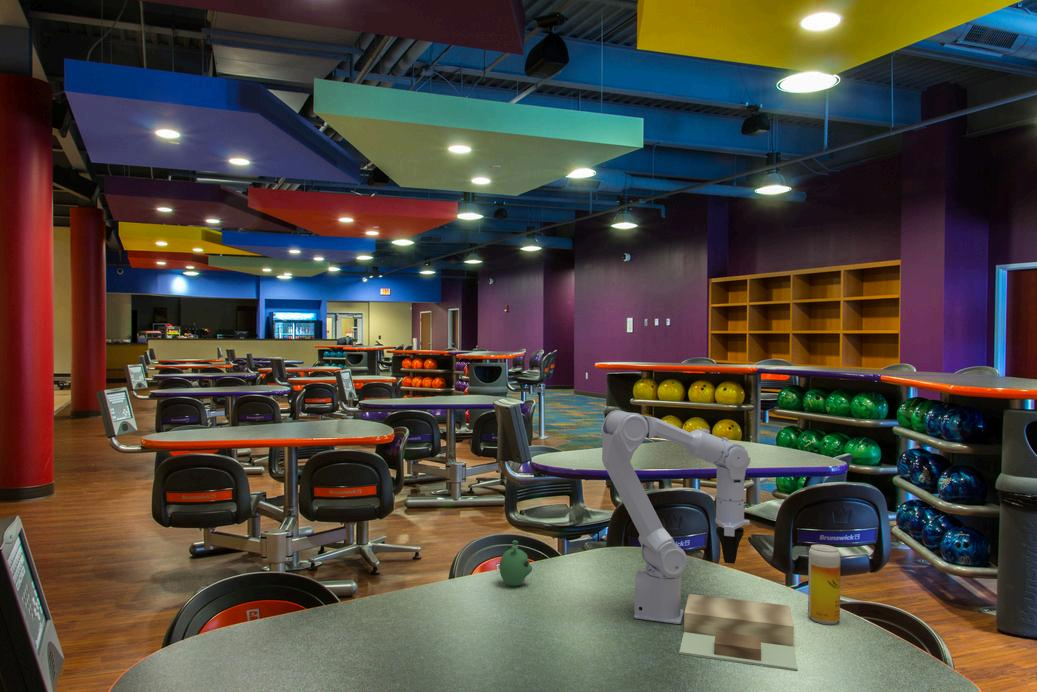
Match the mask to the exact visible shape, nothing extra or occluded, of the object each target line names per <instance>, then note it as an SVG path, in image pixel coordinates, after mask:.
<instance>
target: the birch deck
mask: <svg viewBox="0 0 1037 692" xmlns="http://www.w3.org/2000/svg"><path fill="white" fill-rule="evenodd" d="M792 615H793V614H792V609H791V606H790V605H787V604H778V603H769V602H763V601H762V602H760V601H753V600H752V601H751V600H745V599H736V598H728V597H720V596H719V597H718V596H712V595H711V596H709V595H704V594H703V595H702V594H695V593H688V597H687V601H686V605H685V609H684V613H683V617H684V618H683V623H684V624H683V629H684V630H683V633H684V632H687V633H695V634H702V635H709V636H715V633H716V631H717V632H725V633H732V634H740V635H747V636H755V637H760V638H761V643H769V644H776V645H784V646H791V647H794V646H795V645H794V637H795V636H794V634H795V633H794V632H795V631H794V630H795V629H794V627H795V626H794V620H793V616H792Z"/></svg>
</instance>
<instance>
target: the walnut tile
mask: <svg viewBox="0 0 1037 692" xmlns="http://www.w3.org/2000/svg"><path fill="white" fill-rule="evenodd" d="M714 654H715V655H722V656H729V657H736V658H743V659H750V660H757V661H761V638H760V637H755V636H747V635H740V634H732V633H725V632H717V631H716V633H715V642H714Z"/></svg>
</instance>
